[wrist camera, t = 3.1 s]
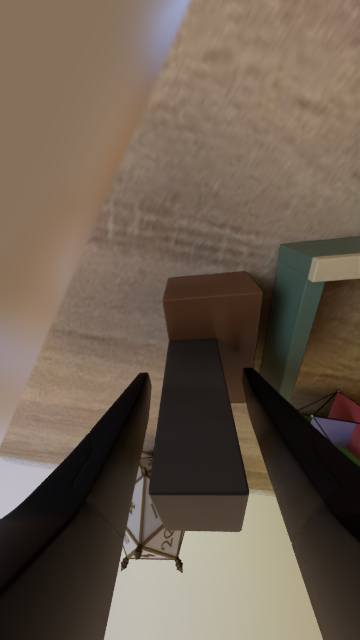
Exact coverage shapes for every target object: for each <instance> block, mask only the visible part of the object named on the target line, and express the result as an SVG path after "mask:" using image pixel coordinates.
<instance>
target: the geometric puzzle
mask: <svg viewBox="0 0 360 640" xmlns="http://www.w3.org/2000/svg"><path fill="white" fill-rule="evenodd" d="M333 394H334V393H333ZM336 394H337V395H336ZM331 395H332V394H331ZM335 395H336V398H335V400H334V403H333V405H332V408H331V411H330V413H329V416H328V418H327V417H321V416H315V414H316V413H317V412H318V411H319V410H320V409H321V408H322V407H323V406H325V405H326V404H327V403H328V402H329V401H330V400H331V399H332V398H333V397H334V396H335ZM329 396H330V395H329ZM327 397H328V396H327ZM325 398H326V397H325ZM323 399H324V398H323ZM320 400H322V399H320ZM318 401H319V400H318ZM316 402H317V401H316ZM314 403H315V402H314ZM312 404H313V403H312ZM310 405H311V404H310ZM308 406H309V405H308ZM323 406H322V407H321V408H320V409H318V410H317V411H316V412H315V413H314V414H313V415H306V414H302V415H303V416H304V417H305V418H306V419H307V420H308V421H309V422H310V423H311V424H312V425H313V426H314V428H317V429H318V430H319V431H320V432H321V433H322V434H323V435H324V436H325V437H326V438H327V439H328V440H329V441H330V442H331V443H333V444H334V445H335V446H336V447H337V448H338V449H339V450H340V451H342V452H343V453H344V454H345V455H346V456H347V457H349V458H350V459H351V460H352V461H353V462H354V463H356V464H357V465H358V466H359V467H360V405H359V404H357V403H356V402H354V401H353V400H351V399H350V398H348V397H346V396H345V395H343V394H342V393H340V391H339V390H337V392H335V394H334V395H333V396H332V397H331V398H330V399H329V400H328V401H327V402H326V403H325V404H324V405H323ZM306 407H307V406H306ZM304 408H305V407H304ZM302 409H303V408H302ZM299 410H301V409H299Z"/></svg>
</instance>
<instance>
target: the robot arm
mask: <svg viewBox="0 0 360 640" xmlns="http://www.w3.org/2000/svg"><path fill="white" fill-rule="evenodd" d="M242 385H243V389H244V394H245V399H246V404H247V409H248V413H249V417H250V420H251V423H252V426H253V429H254V432H255V435H256V438H257V441H258V444H259V447H260V450H261V453H262V456H263V459H264V462H265V465H266V468H267V471H268V474H269V477H270V480H271V483H272V486H273V489H274V492H275V495H276V498H277V501H278V504H279V507H280V511H281V514H282V517H283V520H284V523H285V525H286V529H287V532H288V534H289V537H290V541H291V542H292V547H293V550H294V553H295V556H296V559H297V562H298V565H299V568H300V571H301V574H302V577H303V580H304V583H305V586H306V589H307V592H308V595H309V598H310V601H311V604H312V607H313V610H314V613H315V616H316V619H317V622H318V625H319V628H320V631H321V634H322V637H323V640H360V467H359V466H358V465H357V464H356V463H354V462H353V461H352V460H351V459H350V458H349V457H347V456H346V455H345V454H344V453H343V452H342V451H340V450H339V449H338V448H337V447H336V446H335V445H334V444H333V443H331V442H330V441H329V440H328V439H327V438H326V437H325V436H324V435H323V434H322V433H321V432H320V431H319V430H318V429H317V428H314V426H313V425H312V424H311V423H310V422H309V421H308V420H307V419H306V418H305V417H304V416H303V415H302V414H301V413H300V412H299V411H298V410H296V409H295V408H294V407H293V406H292V405H291V404H290V403H289V402H288V401H287V400H286V399H285V398H284V397H283V396H282V395H281V394H280V393H279V392H278V391H277V390H275V389H274V388H273V387H272V386H271V385H270V384H269V383H268V382H267V381H266V380H265V379H264V378H263V377H262V376H261V375H260V374H259V373H258V372H257V371H256V370H254V369H253V368H252V367H247V368H243V374H242ZM150 398H151V381H150V377H149V374H148V373H147V372H146V373H139V374H138V376H137V377H136V378H135V379H134V380H133V381H132V383H131V384H130V385H129V386H128V387H127V388H126V390H125V391H124V392H123V393H122V394H121V395H120V397H119V398H118V399H117V400H116V401H115V403H114V404H113V405H112V406H111V407H110V408H109V410H108V411H107V412H106V413H105V414H104V415H103V417H102V418H101V419H100V420H99V421H98V423H97V424H96V425H95V426H94V427H93V428H92V430H91V431H90V433H88V434H87V435H86V436H85V438H84V439H83V440H82V441H81V442H80V443H79V445H78V446H77V447H76V448H75V449H74V450H73V451H72V452H71V454H70V455H69V456H68V457H67V458H66V459H65V460H64V461H63V462H62V463H61V464H60V465H59V466H58V467H57V468H56V469H55V470H54V471H53V472H52V473H51V474H50V475H49V476H48V477H47V478H46V479H45V480H44V481H43V482H42V483H41V484H40V485H39V486H38V487H37V488H36V489H35V490H34V491H33V493H32V494H30V495H29V497H27V498H26V499H25V500H24V501H23V502H22V503H21V504H20V505H19V506H18V507H17V508H15V509H14V510H13V511H11V512H10V513H9V514H8V515H6V516H5V517H3V518H2V519H0V640H104V636H105V631H106V626H107V621H108V616H109V611H110V606H111V601H112V596H113V591H114V586H115V582H116V577H117V572H118V567H119V562H120V557H121V552H122V547H123V542H124V537H125V532H126V527H127V522H128V517H129V512H130V508H131V503H132V498H133V493H134V488H135V483H136V478H137V473H138V468H139V463H140V459H141V454H142V449H143V444H144V439H145V434H146V429H147V424H148V419H149V409H150Z"/></svg>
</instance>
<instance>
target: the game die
mask: <svg viewBox="0 0 360 640" xmlns="http://www.w3.org/2000/svg"><path fill="white" fill-rule="evenodd" d="M152 460H153V457H145V458H141V459H140V463H139V468H138V473H137V478H136V483H135V488H134V493H133V498H132V503H131V508H130V512H129V517H128V522H127V527H126V532H125V537H124V542H123V548H124V551H125V554H126V557H125V558H124V559H123V562H121V565H122V566H121V571H122V570H123V569H125V568H126V567H127V564H128V561H129V559H136V560H137V559H156V560H175V562H176V566H177V570H179V571H180V572H182V573H183V571H182V565H183V563H182V562H181V560H180V559H179V557H178V555H179V551H180V547H181V544H182V540H183V536H184V533H185V531H171V530H166V529H165V527H164V525H163V523H162V521H161V519H160V517H159V515H158V512H157V510H156V508H155V506H154V504H153V502H152V500H151V498H150V495H149V492H148V490H149V482H150V475H151V468H152Z"/></svg>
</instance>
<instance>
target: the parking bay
mask: <svg viewBox="0 0 360 640" xmlns="http://www.w3.org/2000/svg"><path fill="white" fill-rule="evenodd" d="M348 279H360V236H359V237H349V238H339V239H329V240H318V241H308V242H298V243H288V244H281V245H280V251H279V257H278V265H277V271H276V278H275V284H274V290H273V297H272V303H271V310H270V316H269V322H268V329H267V335H266V341H265V348H264V354H263V361H262V367H261V373H260V375H261V376H262V377H263V378H264V379H265V380H266V381H267V382H268V383H269V384H270V385H271V386H272V387H273V388H274V389H275V390H277V391H278V392H279V393H280V394H281V395H282V396H283V397H284V398H285V399H286V400H287V401H288V402H289V403H290V400H291V396H292V393H293V390H294V386H295V383H296V380H297V376H298V373H299V369H300V366H301V363H302V359H303V356H304V353H305V349H306V346H307V343H308V339H309V336H310V333H311V329H312V326H313V322H314V319H315V316H316V312H317V309H318V306H319V302H320V299H321V296H322V292H323V289H324V286H325V282H326V281H336V280H348Z"/></svg>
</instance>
